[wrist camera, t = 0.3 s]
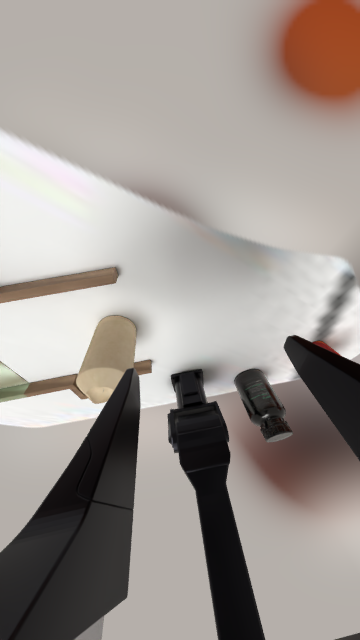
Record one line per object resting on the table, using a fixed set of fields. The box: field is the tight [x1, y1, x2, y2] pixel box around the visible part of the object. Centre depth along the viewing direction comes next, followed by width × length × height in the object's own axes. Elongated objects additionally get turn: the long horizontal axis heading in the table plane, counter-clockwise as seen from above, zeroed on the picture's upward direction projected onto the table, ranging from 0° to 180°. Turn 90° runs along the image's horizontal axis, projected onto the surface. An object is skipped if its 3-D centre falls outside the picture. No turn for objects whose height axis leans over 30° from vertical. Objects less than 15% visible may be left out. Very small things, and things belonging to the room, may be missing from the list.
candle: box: [76, 316, 136, 404], centre depth 20 cm, size 6×6×10 cm
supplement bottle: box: [235, 369, 293, 442], centre depth 34 cm, size 7×7×12 cm
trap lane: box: [0, 267, 152, 402], centre depth 23 cm, size 26×28×2 cm
